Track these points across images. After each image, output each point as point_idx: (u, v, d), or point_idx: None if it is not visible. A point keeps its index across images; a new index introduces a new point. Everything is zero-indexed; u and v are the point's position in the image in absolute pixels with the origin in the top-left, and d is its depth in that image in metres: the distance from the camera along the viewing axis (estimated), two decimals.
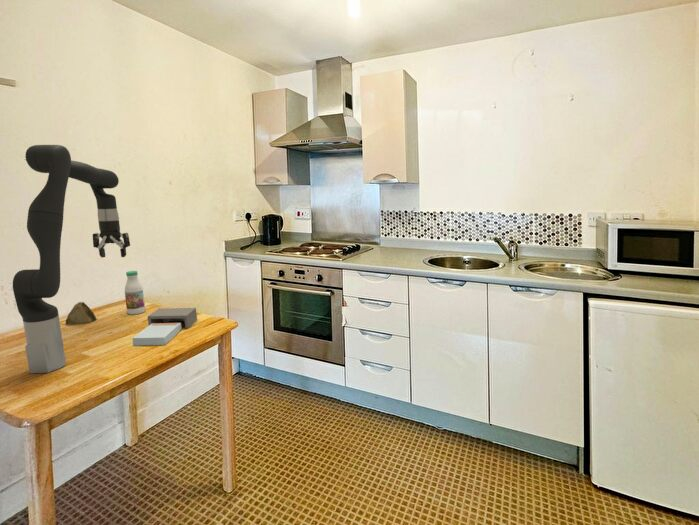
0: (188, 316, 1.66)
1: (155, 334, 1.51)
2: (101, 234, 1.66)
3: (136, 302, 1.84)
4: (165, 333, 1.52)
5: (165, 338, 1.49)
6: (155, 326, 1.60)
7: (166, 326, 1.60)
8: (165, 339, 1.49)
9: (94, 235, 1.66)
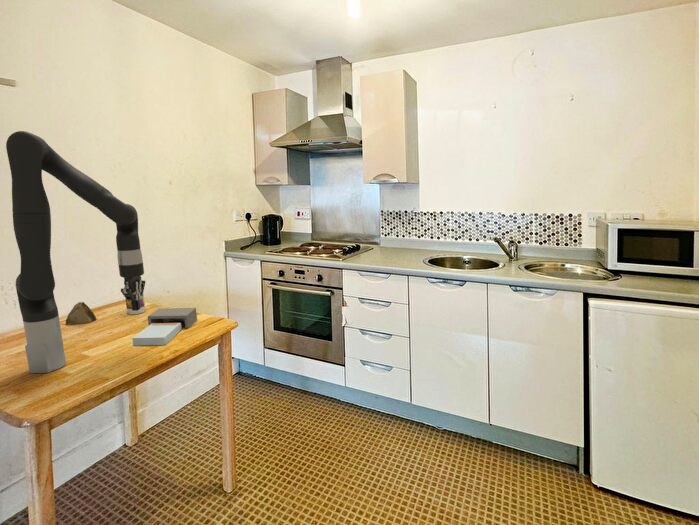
0: (188, 316, 1.66)
1: (155, 334, 1.51)
2: (131, 282, 1.34)
3: None
4: (165, 333, 1.52)
5: (165, 338, 1.49)
6: (155, 326, 1.60)
7: (166, 326, 1.60)
8: (165, 339, 1.49)
9: (129, 289, 1.33)
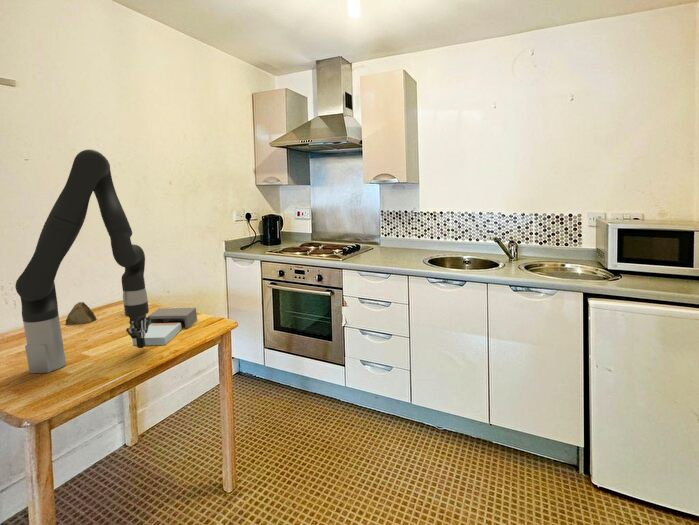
0: (188, 316, 1.66)
1: (155, 334, 1.51)
2: (136, 321, 1.37)
3: None
4: (165, 333, 1.52)
5: (165, 338, 1.49)
6: (155, 326, 1.60)
7: (166, 326, 1.60)
8: (165, 339, 1.49)
9: (134, 329, 1.35)
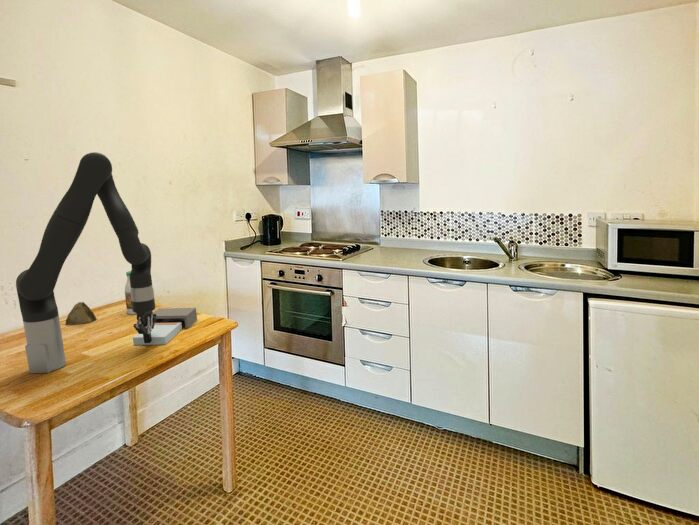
0: (188, 316, 1.66)
1: (155, 334, 1.51)
2: (143, 317, 1.42)
3: None
4: (165, 332, 1.53)
5: (166, 337, 1.49)
6: (156, 326, 1.60)
7: (166, 326, 1.60)
8: (165, 339, 1.49)
9: (141, 325, 1.40)
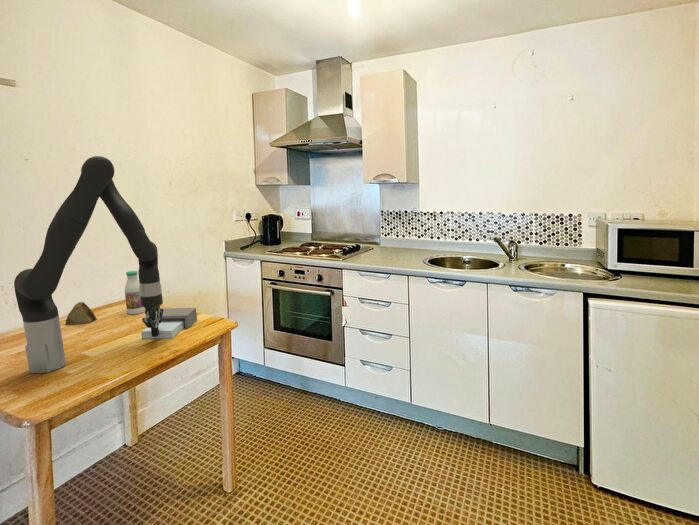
0: (188, 316, 1.66)
1: (163, 328, 1.58)
2: (151, 311, 1.48)
3: (136, 302, 1.84)
4: (172, 327, 1.59)
5: (172, 332, 1.56)
6: (163, 320, 1.66)
7: (173, 320, 1.66)
8: (172, 333, 1.55)
9: (149, 319, 1.46)
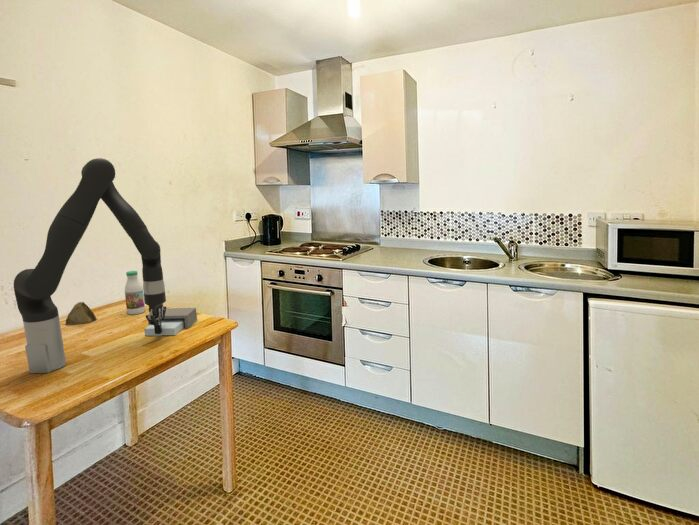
0: (188, 316, 1.66)
1: (166, 325, 1.61)
2: (154, 309, 1.51)
3: (136, 302, 1.84)
4: (175, 324, 1.62)
5: (175, 329, 1.58)
6: None
7: (176, 318, 1.69)
8: (175, 330, 1.58)
9: (153, 316, 1.49)
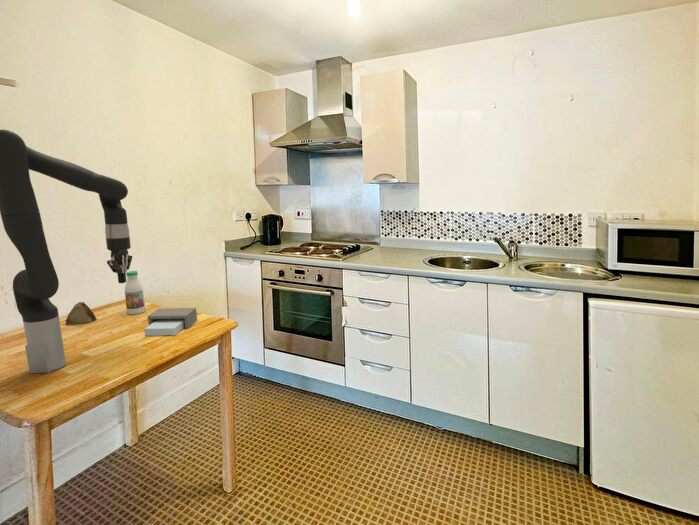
0: (188, 316, 1.66)
1: (166, 325, 1.61)
2: (117, 255, 1.41)
3: (136, 302, 1.84)
4: (175, 324, 1.62)
5: (175, 329, 1.58)
6: None
7: (176, 318, 1.69)
8: (175, 330, 1.58)
9: (115, 261, 1.39)
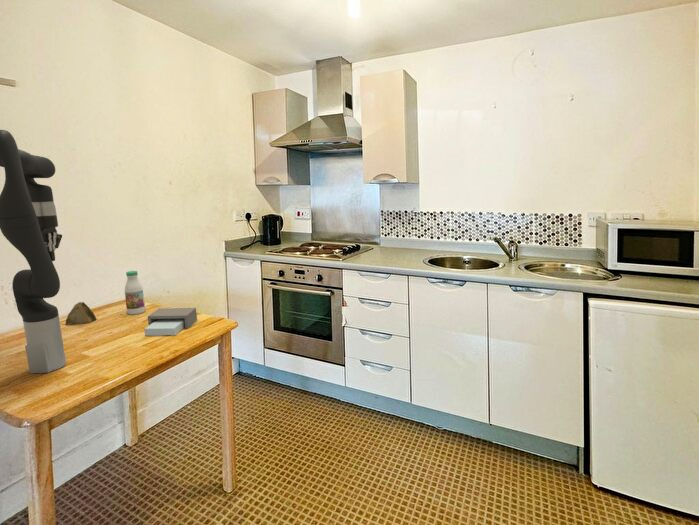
0: (188, 316, 1.66)
1: (166, 325, 1.61)
2: (42, 232, 1.41)
3: (136, 302, 1.84)
4: (175, 324, 1.62)
5: (175, 329, 1.58)
6: None
7: (176, 318, 1.69)
8: (175, 330, 1.58)
9: None
